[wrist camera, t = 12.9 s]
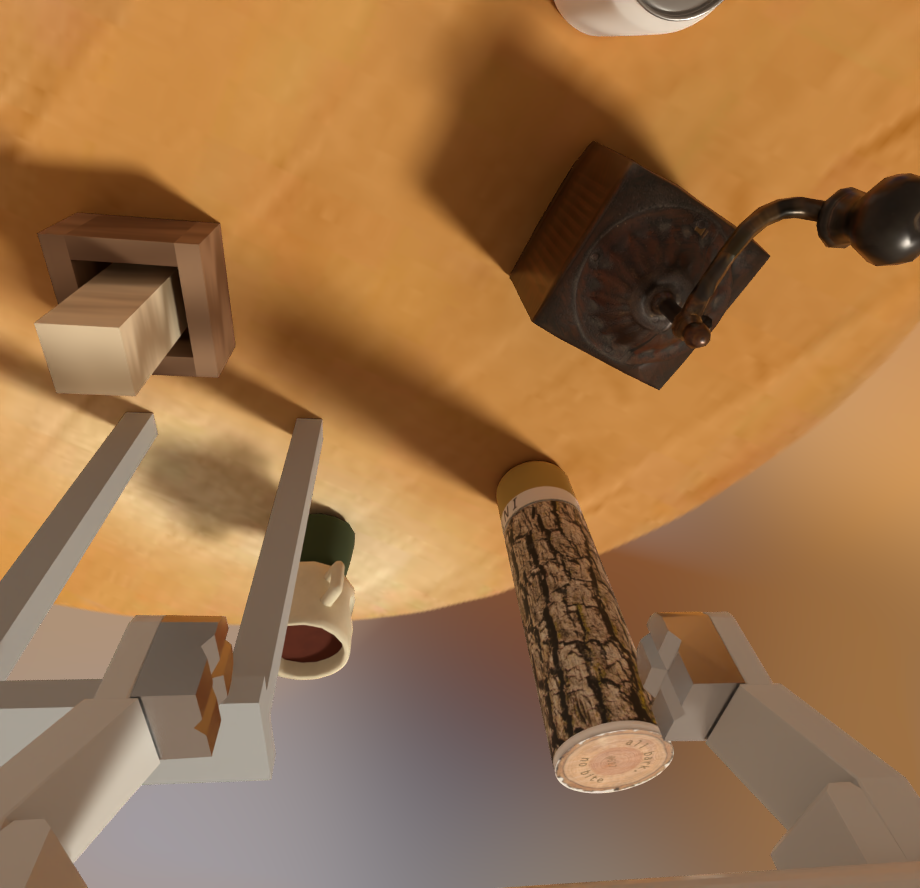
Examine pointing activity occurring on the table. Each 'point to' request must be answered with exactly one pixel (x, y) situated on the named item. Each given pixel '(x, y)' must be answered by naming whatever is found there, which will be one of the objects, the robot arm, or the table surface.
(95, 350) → the peg
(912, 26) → the table surface
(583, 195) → the manual coffee grinder
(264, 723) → the u-shaped bar frame
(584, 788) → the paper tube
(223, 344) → the socket
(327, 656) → the character mug
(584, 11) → the can
